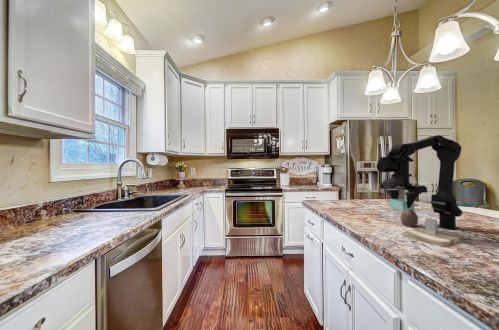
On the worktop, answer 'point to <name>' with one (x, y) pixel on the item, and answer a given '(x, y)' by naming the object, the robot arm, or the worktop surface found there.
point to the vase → (409, 218)
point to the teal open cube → (400, 204)
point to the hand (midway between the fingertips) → (402, 206)
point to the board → (433, 237)
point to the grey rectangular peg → (431, 226)
